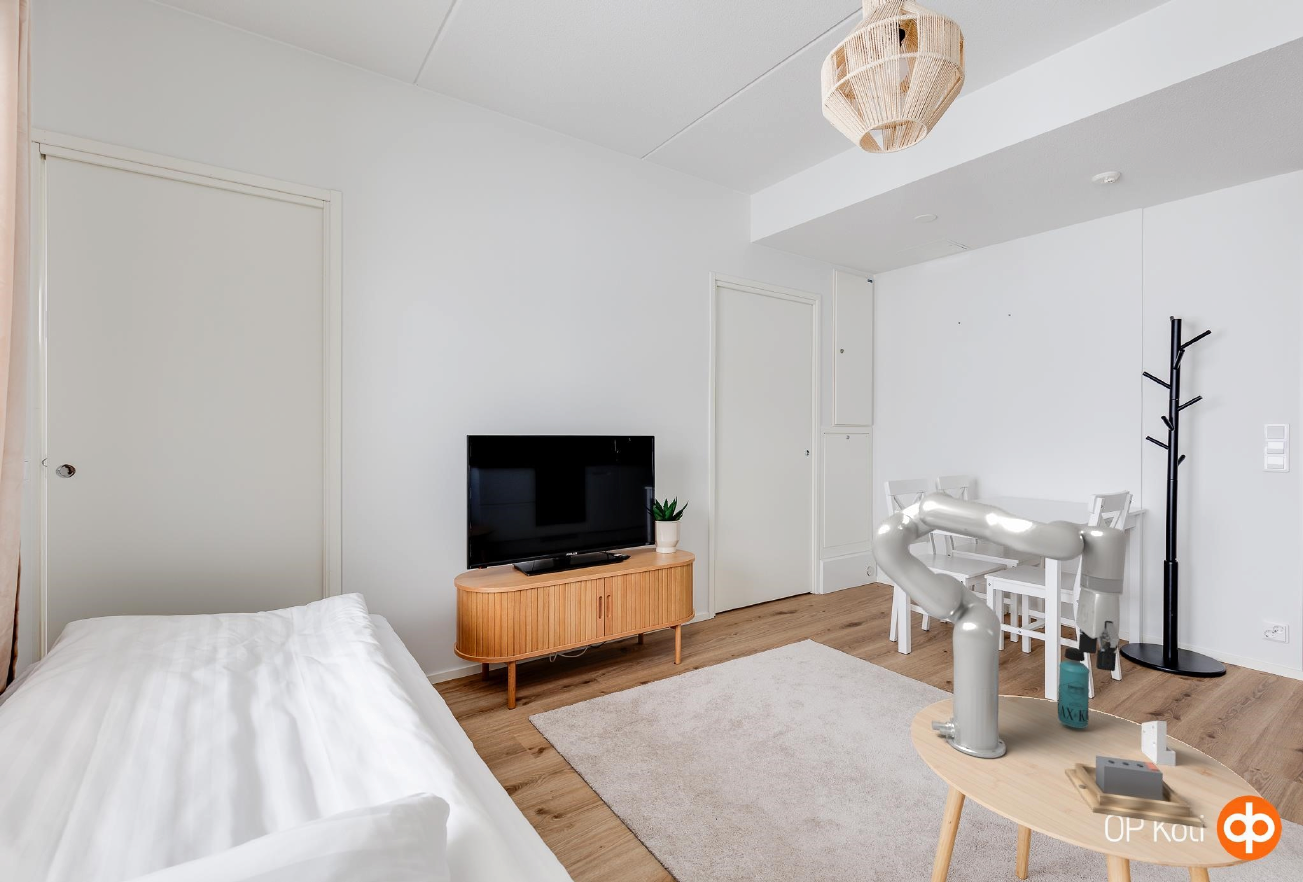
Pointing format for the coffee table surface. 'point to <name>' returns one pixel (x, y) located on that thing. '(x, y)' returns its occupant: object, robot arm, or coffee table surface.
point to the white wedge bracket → (1157, 743)
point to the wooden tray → (1130, 800)
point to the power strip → (1129, 778)
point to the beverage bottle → (1073, 690)
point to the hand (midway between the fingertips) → (1095, 660)
